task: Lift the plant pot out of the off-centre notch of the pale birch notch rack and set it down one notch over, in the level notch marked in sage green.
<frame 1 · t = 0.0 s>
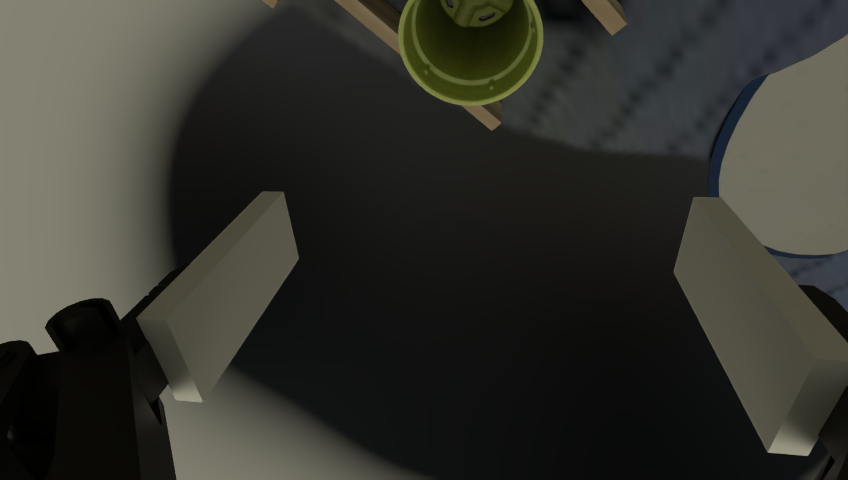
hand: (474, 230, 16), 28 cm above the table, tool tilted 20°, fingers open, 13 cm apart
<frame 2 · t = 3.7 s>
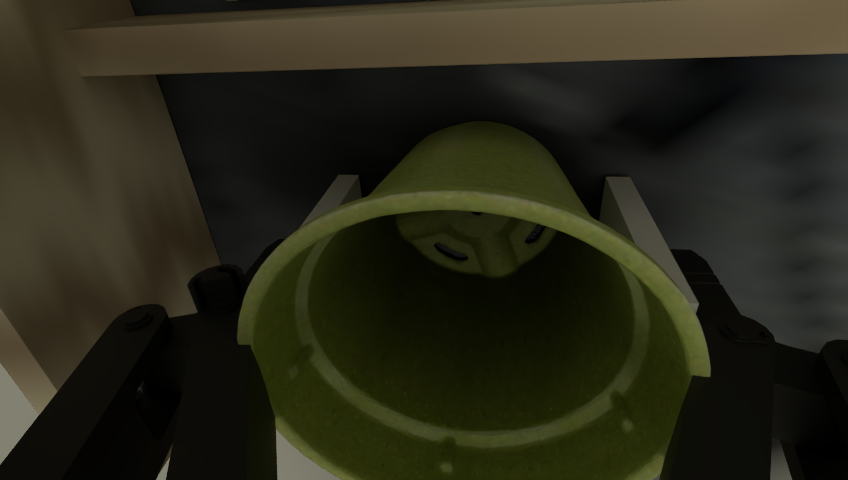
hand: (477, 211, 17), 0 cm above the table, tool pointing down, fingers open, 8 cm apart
notch rack: (477, 21, 14), on the table
plant pot: (477, 201, 17), resting in notch rack, touching gripper
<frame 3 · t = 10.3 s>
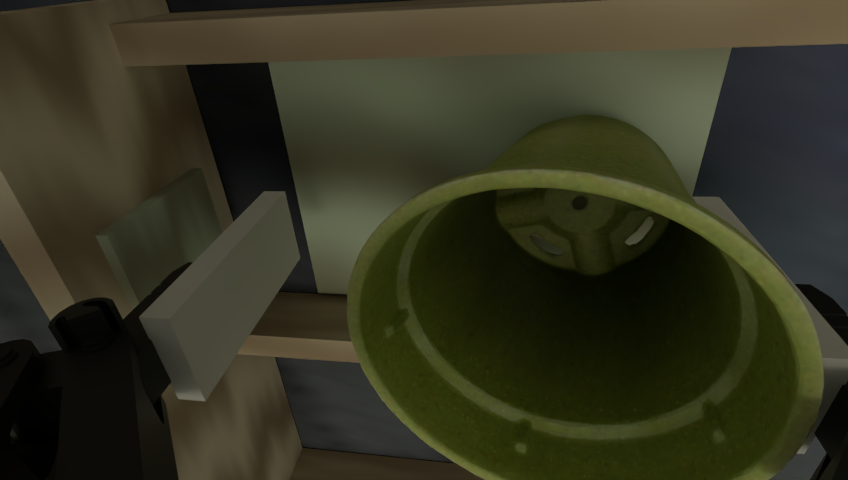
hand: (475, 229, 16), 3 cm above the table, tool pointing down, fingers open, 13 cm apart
notch rack: (480, 312, 21), on the table
plant pot: (579, 196, 17), point 1 cm above the table, touching gripper, notch rack
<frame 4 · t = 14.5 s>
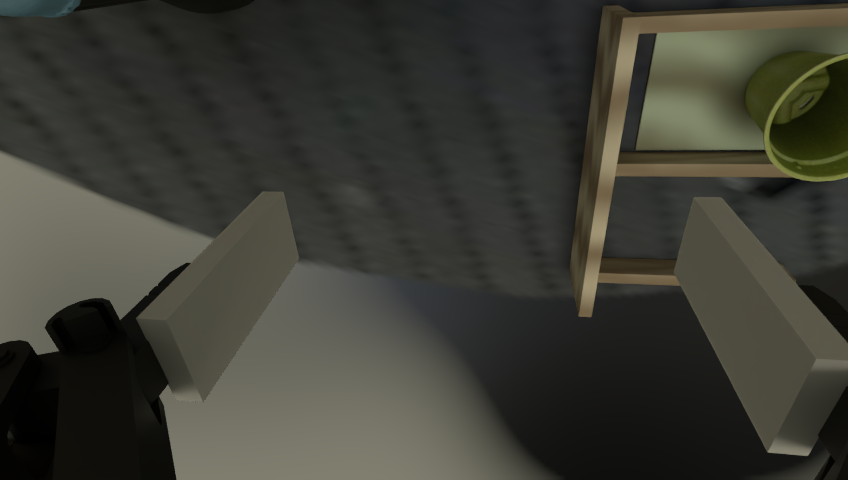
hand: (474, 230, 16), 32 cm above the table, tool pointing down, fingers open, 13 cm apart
notch rack: (717, 157, 44), on the table
plant pot: (782, 88, 40), resting on notch rack
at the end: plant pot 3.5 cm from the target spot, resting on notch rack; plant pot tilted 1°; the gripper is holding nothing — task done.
